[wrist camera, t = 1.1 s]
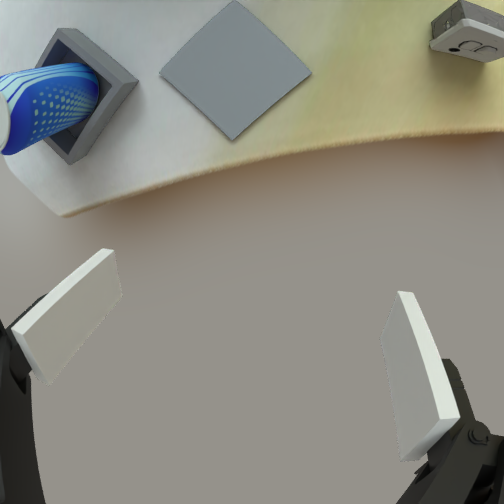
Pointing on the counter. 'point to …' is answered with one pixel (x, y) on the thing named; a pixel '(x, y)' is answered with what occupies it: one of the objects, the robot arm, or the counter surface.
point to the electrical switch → (469, 32)
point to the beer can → (44, 103)
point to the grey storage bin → (122, 86)
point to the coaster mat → (234, 69)
